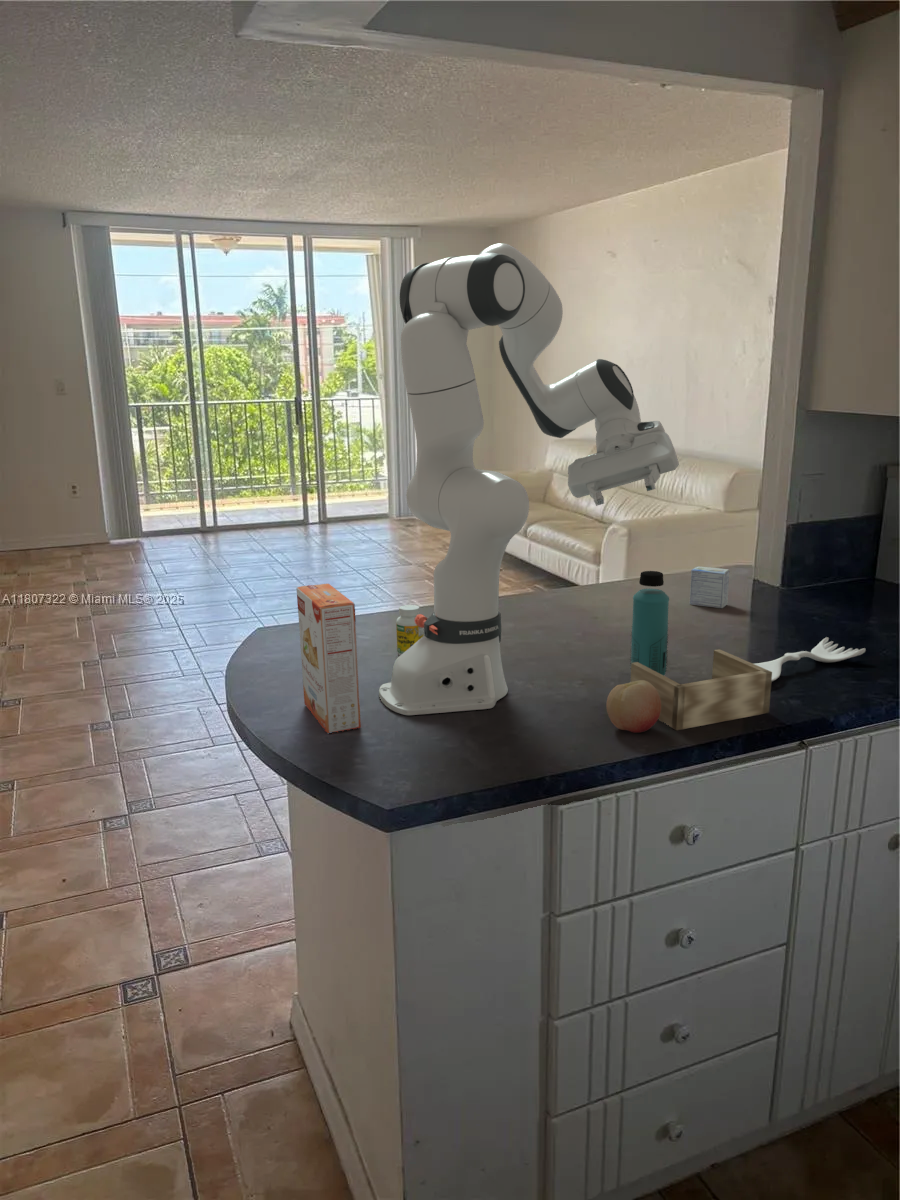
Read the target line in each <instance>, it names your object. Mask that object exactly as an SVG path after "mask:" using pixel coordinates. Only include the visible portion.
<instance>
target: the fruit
mask: <svg viewBox="0 0 900 1200" xmlns="http://www.w3.org/2000/svg"><path fill="white" fill-rule="evenodd" d="M605 704H606V713H607V715H608V718H609V719H610V722H611V723H612V724H613V725H614V727H616V728H617V729H619V730H621V731H628V732H631V733H635V734H636V733H644V732H646V731H648V730H650V729H651V728H652V727H654V725H656V724H657V722H658V721H659V720H658V718H659V716H660V712H661V699H660V696H659V694H658V692H657V690H656V689H655V687H654V686H653V685H652V684H650V683H649V682H647V681H644V680H639V681H634V682H631V681H630V682H626V683H622V684H621V683H620V684H617V685H616V686H614V687H613V688H612V689H611V690H610V692H609V693H608V695H607V700H606V703H605Z"/></svg>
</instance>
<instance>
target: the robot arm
mask: <svg viewBox="0 0 900 1200" xmlns="http://www.w3.org/2000/svg"><path fill="white" fill-rule="evenodd" d="M400 283H401V284H400V288H399V306H400V307H399V308H400V311H401V316H402V319H403V321H404V326H403V327H402V330H401V332H400V350H401V353H400V355H401V362H402V363H401V365H402V373H403V380H404V384H405V389H406V394H407V398H408V399H407V400H408V404H409V408H410V413H411V416H412V421H413V427H414V432H415V437H416V439H415V440H416V463H415V465H416V466H415V472H414V474H413V476H412V477H411V479H410V480H409V483H408V485H407V489H406V495H405V496H406V497H405V498H406V502H407V506H408V509H409V511H410V512H411V514H412V515H413V516H414V517H416V518H417V519H419V520H420V521H421V522H423V523H424V524H427V525H428V526H430V527H432V528H435V529H439V530H444V531H448V532H449V533H450V539H449V545H448V550H447V552H446V555H445V557H444V559H442V560H441V561H439V562H438V563H437V565H436V566H435V568H434V571H433V606H434V607H433V610H434V611H433V612H432V613H431V615H430V616H429V617H426V616H425V615H424V614H421V613H419V615H417V616H416V618H415V619H416V620H414V621H415V623H416V625H418V626H419V627H421V628H423V629H424V636H423V637H422V638H421V639H419V640H418V641H417V642H416V643H415V644H414V645H412V646H411V647H410V648H409V649H408V650H406V651H405V652H404V653H403V654H401V655H398V656H397V658H396V659H395V661H394V663H393V667H392V672H391V678H390V679H391V680H390V681H389V682H387V683H383V684H381V685H380V687H379V689H378V697H380V698H379V700H380V699H381V700H380V701H381V702H382V704H383V705H384V706H386V707H387V708H388V709H390V711H393V712H395V713H397V714H401V715H404V716H415V715H417V716H418V715H431V714H439V713H440V714H442V713H452V712H453V713H454V712H465V711H476V710H478V711H479V710H487V709H488V710H489V709H492V708H494V707H495V706H496V704H497V701H499V700H500V699H502V698H504V697H505V696H506V695H507V694H508V692H509V689H508V686H507V682H506V679H505V673H504V670H503V664H502V656H501V645H500V643H501V642H502V614H501V612H500V611H499V597H500V594H499V592H500V591H499V590H500V571H501V567H502V561H503V558H504V556H505V555H504V554H505V552H506V550H507V547H508V545H509V543H510V541H511V540H512V539H513V537H514V536H516V535H517V534H518V533H519V532H520V531H521V530H522V529H523V528H524V526H525V524H526V522H527V520H528V517H529V512H530V500H529V499H530V498H529V495H528V492H527V490H526V488H525V487H524V486H523V484H521V483H520V482H519V481H517V480H516V479H514V478H512V477H510V476H508V475H505V474H504V473H501V472H499V471H495V470H487V469H479V468H476V467H475V463H474V457H473V456H474V447H475V446H474V445H475V441H476V439H477V438H478V437H479V436H480V435H481V434H482V431H483V429H484V424H485V420H484V416H483V410H482V406H481V400H480V395H479V389H478V385H477V380H476V375H475V370H474V369H475V368H474V365H473V362H472V358H471V354H470V351H469V348H468V343H467V341H468V335H469V331H470V330H475V329H480V328H484V327H485V328H486V327H487V326H490V327H495V326H498V327H499V328H500V330H501V333H502V334H501V337H500V339H499V341H498V346H499V347H498V348H499V353H500V356H501V359H502V361H503V363H504V366H505V367H506V369H507V371H508V374H509V376H510V377H511V379H512V381H513V382H514V384H515V386H516V387H517V389H518V390H519V392H520V394H521V395H522V397H523V399H524V401H525V403H526V405H527V406H528V407H529V409H530V411H531V413H532V416H533V418H534V420H535V423H536V425H537V426H538V427H539V429H540V430H541V432H542V433H543V434H545V435H546V436H549V437H554V438H558V439H562V438H564V437H566V436H568V435H569V434H571V433H572V432H574V431H575V430H576V429H578V428H579V427H581V426H583V425H585V424H587V423H589V422H592V421H593V420H594V429H595V431H596V435H595V447H596V449H595V450H596V453H592V454H589V455H587V456H584V457H579V458H576V459H575V460H574V461H573V462H572V463H571V464H569V465H568V467H567V474H568V476H567V477H568V478H567V486H568V488H569V491H570V494H571V495H572V496H573V497H575V498H579V499H580V498H583V497H587V496H589V497H591V498H592V500H593V502H594V503H595V506H596V507H598V506H601V505H603V504H605V499H604V495H603V492H604V491H606V490H611V489H614V488H617V487H621V486H624V485H628V484H632V483H635V482H638V481H642V480H644V486H645V489H646V491H647V492H649V491H654V490H656V483H657V482H658V480H659V479H660V477H661V474H662V475H663V474H665V473H669V472H672V471H676V469H677V468H678V467H679V466H680V463H679V459H678V455H677V453H676V450H675V447H674V444H673V442H672V440H671V437H670V436H669V434H668V433H667V432H666V431H665V428H664V426H663V425H662V423H661V421H659V420H649V421H642V420H641V413H640V409H639V404H638V402H637V399H636V397H635V394H634V389H633V387H632V383H631V381H630V380H629V377H628V375H626V373H625V371H624V370H623V369H622V368H621V366H619V365H618V364H617V363H614V362H612V361H610V360H606V359H601V358H597V359H596V360H594V361H592V362H590V363H588V364H587V365H584V366H583V367H581V368H579V369H577V370H576V371H575V372H572V373H571V374H569V375H567V376H565V377H564V378H562V379H560V380H558V381H556V382H553V383H550V384H544V382H543V380H542V379H541V377H540V375H539V373H538V372H537V370H536V368H535V366H534V364H535V361H536V360H537V359H538V357H540V355H541V354H542V353H543V352H544V351H545V349H547V347H549V346H550V345H551V343H552V342H553V341H554V339H555V338H556V336H557V334H558V332H559V330H560V328H561V324H562V322H563V303H562V300H561V298H560V296H559V294H558V293H557V291H556V289H555V287H554V286H553V285H552V284H551V282H550V281H549V279H547V277H546V276H545V274H544V273H543V272H542V271H541V270H540V269H539V268H538V267H537V266H536V265H535V263H533V261H531V259H529V258H528V257H527V256H526V255H524V254H523V253H522V252H521V251H520V250H518V249H517V248H516V247H514V246H512V245H510V244H509V243H503V242H502V243H499V242H498V243H494V244H492V245H489V246H488V247H486V248H484V249H483V250H482V251H480V252H479V254H470V255H469V254H468V255H461V256H460V255H454V256H449V257H445V258H441V259H438V260H435V261H433V262H425V263H422V264H419V265H417V266H415V267H414V268H412V269H410V270H409V271H408V272H407V273H406V274H405V275H404V276H403V279H402V281H401V282H400Z"/></svg>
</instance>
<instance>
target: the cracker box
mask: <svg viewBox="0 0 900 1200" xmlns="http://www.w3.org/2000/svg"><path fill="white" fill-rule="evenodd" d="M296 601H297V613H298V627H299V631H298V632H299V643H300V655H301V656H300V658H301V671H302V673H301V674H302V683H303V684H302V686H303V689H302V690H303V699H304V702H303V703H304V705H305V706H306V708H307V709H308V710H309V712H310V711H311V712H310V713H311V714H312V716H313V717H314V718H315V719H316V721H317V720H318V721H317V722H318V724H319V725H320V726H321V727H322V729H323V728H324V729H325V730H324V729H323V730H324V732H325V733H326V732H327V733H330V732H337V733H339V732H338V731H342V732H345V731H344V730H347V731H351V730H350V729H353V730H358V729H362V723H361V722H362V721H361V708H360V707H361V706H360V687H359V686H360V685H359V662H358V645H357V644H358V643H357V624H356V623H357V622H356V621H357V620H356V605H355V602H354V601H352V600H350V598H348V597H347V596H346V595H344V594H343V593H342V592H341V591H339V590H338V589H336V588H335V587H334V586H332V584H330V583H320V584H309V585H302V586H298V587H296ZM357 728H358V729H357ZM327 733H326V734H327Z"/></svg>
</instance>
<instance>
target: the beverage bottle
mask: <svg viewBox="0 0 900 1200" xmlns="http://www.w3.org/2000/svg"><path fill="white" fill-rule="evenodd" d="M664 584H665V583H664V574H663V572H660V571H655V570H646V571H645V570H644V571H642V572H640V576H639V585H641V586H643V587H644V586H645V587H650V588H641V589H639V590H638V591H637V592H636V593H635V594H633V597H632V620H631V621H632V622H631V631H630V632H631V634H630V637H631V639H630V640H631V641H630V642H631V645H630V651H629V652H630V654H629V655H630V659H629V660H630V661H629V662H630V664H631V663H634V662H638V663H640V664H642V665H644V666H646V667H648V668H650V669H652V670H654V671H656V672H658V673H660V674H661V675H663V676H665V675H666V672H667V671H668V670H667V669H668V668H667V664H668V646H669V640H668V639H669V635H670V634H669V632H668V631H669V624H670V623H669V601H670V596H669V595H668V594H667V593H666V592H665V591H664V590H662V589H657V588H651V587H661V586H664ZM629 668H630V670H631V667H629Z"/></svg>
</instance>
